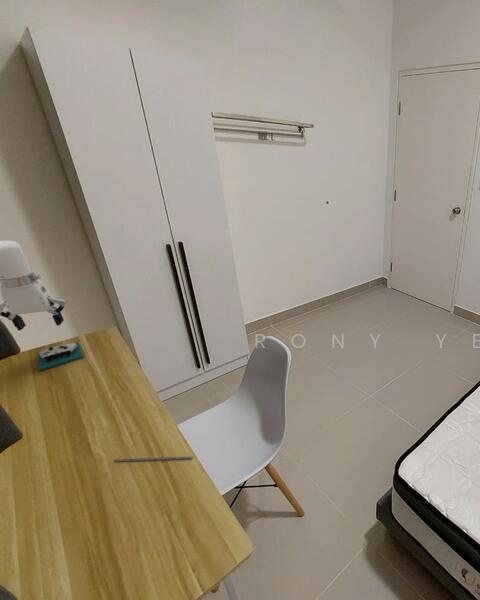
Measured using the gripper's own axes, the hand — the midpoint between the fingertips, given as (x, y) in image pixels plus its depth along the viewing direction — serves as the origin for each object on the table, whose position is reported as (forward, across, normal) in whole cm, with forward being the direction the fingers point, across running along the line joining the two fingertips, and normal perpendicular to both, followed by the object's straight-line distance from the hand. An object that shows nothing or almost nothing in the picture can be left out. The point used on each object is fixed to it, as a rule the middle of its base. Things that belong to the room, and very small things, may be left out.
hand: (41, 325), depth 111 cm
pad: (+14, -1, 0) cm, 14 cm away
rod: (+14, -38, +59) cm, 72 cm away
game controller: (+13, -1, 0) cm, 13 cm away
